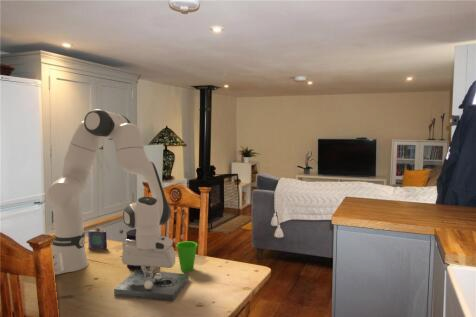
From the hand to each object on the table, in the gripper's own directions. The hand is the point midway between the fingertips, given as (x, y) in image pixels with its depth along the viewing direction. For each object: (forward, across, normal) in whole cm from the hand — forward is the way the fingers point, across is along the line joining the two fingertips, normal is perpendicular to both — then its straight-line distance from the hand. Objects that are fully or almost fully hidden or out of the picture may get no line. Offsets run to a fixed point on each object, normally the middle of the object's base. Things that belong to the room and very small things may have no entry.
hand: (148, 276), depth 138 cm
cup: (+4, +9, +19) cm, 21 cm away
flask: (+4, -42, +35) cm, 55 cm away
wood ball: (0, 0, +6) cm, 7 cm away
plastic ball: (0, +3, -6) cm, 7 cm away
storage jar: (+4, -13, +19) cm, 24 cm away
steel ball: (0, +4, 0) cm, 4 cm away
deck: (+4, +2, 0) cm, 4 cm away
